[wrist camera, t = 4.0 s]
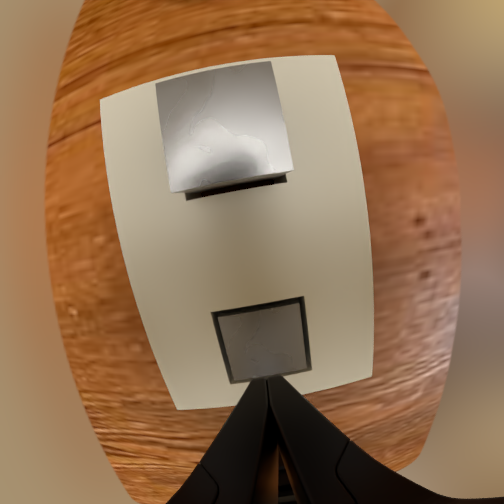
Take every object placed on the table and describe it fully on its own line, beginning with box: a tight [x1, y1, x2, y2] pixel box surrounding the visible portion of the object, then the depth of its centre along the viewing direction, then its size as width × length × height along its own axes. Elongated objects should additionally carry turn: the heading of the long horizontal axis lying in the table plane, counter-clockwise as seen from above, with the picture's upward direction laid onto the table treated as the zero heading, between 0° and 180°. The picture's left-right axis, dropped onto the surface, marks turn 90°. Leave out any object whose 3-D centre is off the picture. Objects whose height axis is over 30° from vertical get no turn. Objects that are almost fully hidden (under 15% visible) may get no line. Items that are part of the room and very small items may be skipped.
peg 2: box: [218, 297, 307, 381], centre depth 16 cm, size 4×4×5 cm
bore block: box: [100, 55, 374, 410], centre depth 15 cm, size 18×12×5 cm, turn 10°
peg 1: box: [155, 61, 294, 193], centre depth 11 cm, size 4×4×5 cm
